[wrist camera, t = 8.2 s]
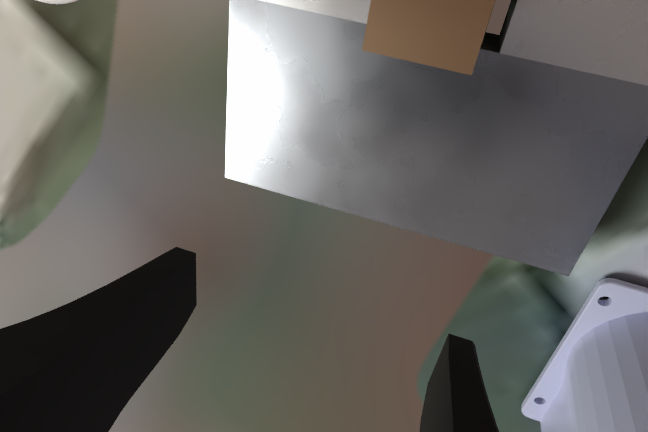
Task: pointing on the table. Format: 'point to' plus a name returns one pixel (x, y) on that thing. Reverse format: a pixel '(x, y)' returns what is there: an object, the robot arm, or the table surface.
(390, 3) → the brown wooden block
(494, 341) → the table surface
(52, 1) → the wineglass
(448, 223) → the square steel tile
